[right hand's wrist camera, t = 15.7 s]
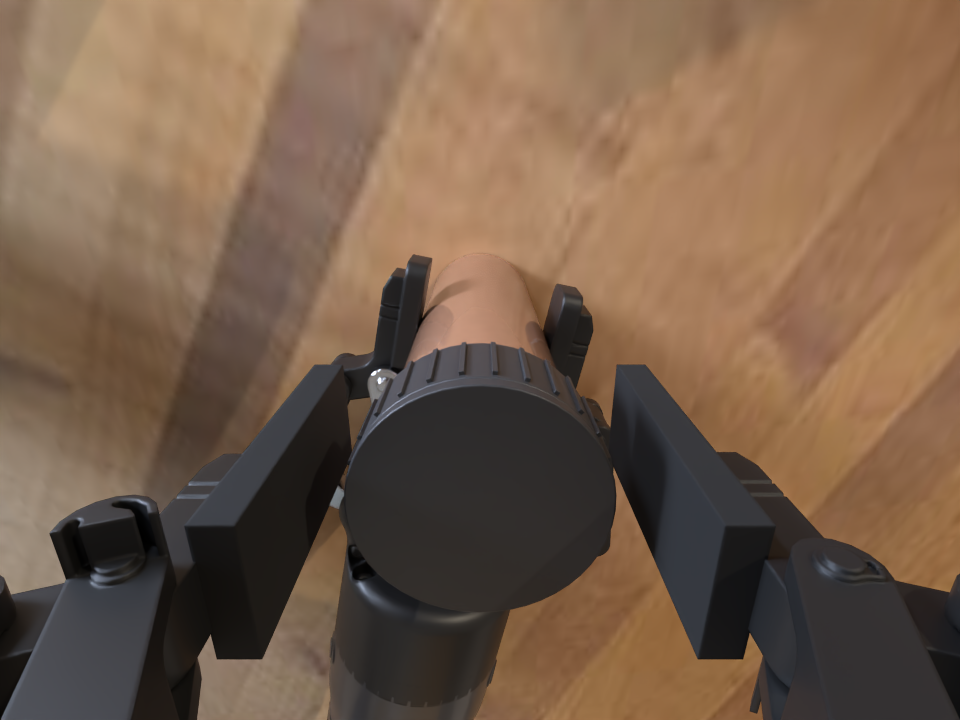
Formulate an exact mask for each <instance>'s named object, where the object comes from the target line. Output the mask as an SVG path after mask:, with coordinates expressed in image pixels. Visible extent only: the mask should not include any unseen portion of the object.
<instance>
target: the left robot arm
mask: <svg viewBox="0 0 960 720" xmlns="http://www.w3.org/2000/svg"><path fill="white" fill-rule="evenodd" d="M431 265H432V258H428V257H424V256H419V255H414V254H413V255H412V257H411V258H410V260H409V261H408V264H407V268H406V269H401V268H397V269H396V270H395V271H394V272H393V274H392V275H391V276H390V278H389V280H388V281H387V283H386V285H385V286H384V288H383V292H382V299H381V306H380V313H379V320H378V327H377V334H376V341H375V348H374V351H373V352H371V353H369V354H365V355H358V356H355V355H353V354H350V353H343V354H340V355H339V356H337V357H336V358H335V360H334V361H333V362H332V364H331V365H343V369H344V379H345V389H346V398H347V406H348V404H349V401H350V400H354V399H361V398H368V397H370V399H371V403H373V401H374V399H377V400H378V399H379V397H380V395H381V394H382V392H383V391H384V388H385V386H386V383H387V381H388V380H389V378H392V379H394V378H395V377H396V375H397V374H399V373H400V372H401V371H402V370H404V367H405V364H406V362H407V359H408V356H409V353H410V351H411V348H412V345H413V342H414V340H415V337H416V334H417V332H418V329H419V326H420V323H421V321H422V317H423V311H424V306H425V300H426V294H427V288H428V283H429V277H430V271H431ZM592 333H593V322H592V316H591V314H590V313H589V311H588V310H587V309H586V307H585V306H584V305H583V297H582V295H581V294H580V292H579V291H578V290H577V288H575V287H571V286H566V285H561V284H557V285H556V286H555V289H554V291H553V295H552V299H551V303H550V306H549V310H548V314H547V318H546V321H545V325H544V329H543V334H544V337H545V340H546V342H547V345H548V348H549V351H550V353H551V356H552V359H553V361H554V364H555V367H556V369H557V370H558V371H559V372H560V373H561V374H562V375H564V376H565V377H566V376H569V377H570V378H571V381H572V383H573V386H574V388H575V389H576V387H577V383H578V380H579V377H580V373H581V370H582V367H583V363H584V360H585V356H586V353H587V350H588V345H589V343H590V340H591V337H592ZM586 401H587V403H588V405H589V407H590V410H591V412H592V414H593V416H594V419H595V421H596V423H597V425H598V428H599V430H600V432H601V434H602V438H603V440H604V443H605V445H606V447H607V449H608V448H609V438H610V427H609V425H607V423H606V421H605V419H604V417H603V412H602V410H601V408H600V406H599V404H598V403H597V402H596V401H594V400H592V399H586ZM610 465H611V468H612V472H613V467H614V466H613V464H612V462H610ZM345 481H346V476H345V474H344V473H343V476H342V478H341V480H340V482H339V485H338V487H337V489H336V492H335V494H334V496H333V498H332V501H331V503H330V505H329V506H331V507H334V508H336V509H339V517H340V520H341V522H342V524H343V526H344V528H345V531H346V534H347V549H346V556H345V563H344V570H343V577H342V584H341V591H340V597H339V604H338V612H337V618H336V625H335V631H334V632H333V635H332V637H331V642H330V658H331V660H330V674H329V684H330V703H329V710H328V717H327V720H474V718H475V716H476V714H477V712H478V710H479V708H480V706H481V703H482V700H483V698H484V695H485V692H486V689H487V687H488V685H489V684H490V683H491V680H492V677H493V674H494V670H495V666H496V661H497V660H496V656H497V652H498V649H499V646H500V642H501V639H502V636H503V632H504V629H505V626H506V622H507V619H508V616H509V612H510V610H504V611H497V612H463V611H456V610H450V609H445V608H441V607H437V606H434V605H430V604H428V603H425V602H422V601H420V600H417V599H415V598H413V597H411V596H409V595H407V594H405V593H403V592H401V591H400V590H398V589H397V588H395V587H394V586H392V585H391V584H389V583H388V582H387V581H386V580H385V579H383V578H382V577H381V576H380V575H379V574H378V573H377V572H376V571H375V570H374V569H373V568H372V567H371V566H370V565H369V564H368V562H367V561H366V560H365V558H364V557H363V555H362V554H361V553H360V551H359V550H358V548H357V546H356V544H355V542H354V540H353V538H352V536H351V533H350V530H349V527H348V524H347V520H346V514H345V508H344V488H345ZM610 534H611V530H610V533H609V536H608V538H607V541H606V542H605V544H604V546H603V548H602V550H601V552H600V553H599V555H598V556H601V555H603V554H604V553H606V552H607V551H608V549H609V547H610Z"/></svg>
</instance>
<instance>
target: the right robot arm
mask: <svg viewBox="0 0 960 720" xmlns="http://www.w3.org/2000/svg"><path fill="white" fill-rule="evenodd" d="M608 452H609V454H610V456H611V459H612V464H613V466H614V469H615V471H616V473H617V476H618V478H619V480H620V482H621V485H622V487H623V489H624V492H625V494H626V496H627V498H628V501H629V503H630V505H631V508H632V510H633V512H634V514H635V517H636V519H637V521H638V524H639V526H640V528H641V530H642V533H643V535H644V537H645V540H646V542H647V544H648V546H649V549H650V551H651V553H652V556H653V558H654V560H655V562H656V565H657V567H658V569H659V572H660V574H661V576H662V578H663V581H664V583H665V585H666V588H667V590H668V592H669V594H670V597H671V599H672V601H673V604H674V606H675V608H676V610H677V613H678V615H679V617H680V620H681V622H682V624H683V626H684V629H685V631H686V633H687V636H688V638H689V640H690V642H691V645H692V647H693V649H694V652H695V654H696V656H697V658H698V659H743V658H744V654H745V650H746V645H747V641H748V637H749V633H750V634H751V635H752V637H753V639H754V640H755V642H756V644H757V646H758V647H759V649H760V651H761V653H762V654H763V658H762V662H761V666H760V669H759V673H758V677H757V681H756V684H755V688H754V692H753V696H752V699H751V706H750V711H751V712H754V713H758V709H759V705H760V702H761V704H762V713H763V720H960V574H959V575H957V577H956V579H955V582H954V584H953V586H952V589H951V591H950V592H945V591H940V590H936V589H931V588H926V587H922V586H917V585H912V584H908V583H903V582H899V581H895V580H894V578H893V577H892V576H891V574H890V573H889V572H888V570H887V569H886V568H885V566H884V565H882V564H881V563H880V562H878V561H877V560H876V559H874V558H873V557H872V556H871V555H869V554H867V553H865V552H863V551H861V550H859V549H857V548H855V547H854V546H852V545H849V544H846V543H842V542H839V541H836V540H833V539H826V538H824V537H823V536H822V535H821V534H820V533H819V532H818V531H817V530H816V529H815V528H814V526H813V525H812V524H811V523H810V522H809V521H808V520H807V519H806V518H805V517H804V516H803V514H802V513H801V512H800V511H799V510H798V509H797V508H796V507H795V506H794V505H793V503H792V502H791V501H790V500H789V499H788V498H787V497H784V496H783V493H782V491H781V490H780V489H779V488H778V487H777V486H776V485H775V484H772V481H771V479H770V478H769V477H768V476H767V475H766V474H765V473H764V472H763V471H762V470H761V468H760V467H759V466H758V465H756V464H755V463H753V462H751V461H750V460H748V459H746V458H745V457H743V456H741V455H740V454H738V453H737V452H716V451H715V450H714V449H713V447H712V446H711V445H710V444H709V443H708V441H707V440H706V439H705V438H704V436H703V435H702V434H701V433H700V431H699V430H698V429H697V428H696V427H695V425H694V424H693V423H692V422H691V420H690V419H689V418H688V417H687V415H686V414H685V413H684V412H683V411H682V409H681V408H680V407H679V406H678V404H677V403H676V402H675V401H674V399H673V398H672V397H671V396H670V395H669V393H668V392H667V391H666V390H665V388H664V387H663V386H662V385H661V383H660V382H659V381H658V380H657V379H656V377H655V376H654V375H653V374H652V372H651V371H650V370H649V369H648V367H647V366H646V365H617V369H616V379H615V389H614V398H613V408H612V418H611V428H610V438H609V448H608ZM351 453H352V448H351V438H350V428H349V418H348V408H347V398H346V389H345V379H344V369H343V365H314V366H313V367H312V369H311V370H310V371H309V372H308V374H307V375H306V376H305V377H304V379H303V380H302V381H301V382H300V383H299V385H298V386H297V387H296V388H295V390H294V391H293V392H292V393H291V395H290V396H289V397H288V398H287V399H286V401H285V402H284V403H283V404H282V406H281V407H280V408H279V409H278V411H277V412H276V413H275V414H274V415H273V417H272V418H271V419H270V420H269V422H268V423H267V424H266V425H265V427H264V428H263V429H262V430H261V431H260V433H259V434H258V435H257V436H256V438H255V439H254V440H253V441H252V443H251V444H250V445H249V446H248V447H247V449H246V450H245V451H244V452H243V454H223V455H222V456H220V457H218V458H217V459H215V460H213V461H212V462H210V463H209V464H207V465H205V466H204V467H202V468H201V470H200V471H199V472H198V473H197V474H196V475H195V476H194V477H193V478H192V479H191V481H190V482H189V485H188V486H185V487H184V488H183V489H182V490H181V492H180V493H179V494H178V495H177V499H173V500H172V502H171V503H170V504H169V505H168V506H167V507H166V508H165V509H164V510H163V511H162V513H161V514H160V515H159V511H158V507H157V504H156V502H155V501H153V500H152V499H150V498H149V497H145V496H139V495H127V496H117V497H113V498H109V499H105V500H102V501H98V502H95V503H93V504H90V505H88V506H86V507H84V508H81V509H79V510H77V511H75V512H74V513H72V514H71V515H69V516H68V517H66V518H65V519H63V520H62V521H60V522H59V523H58V524H57V525H56V527H55V528H54V529H53V530H52V531H51V532H50V536H51V539H52V542H53V544H54V547H55V550H56V553H57V555H58V558H59V561H60V564H61V567H62V569H63V572H64V575H65V578H66V581H65V583H62V584H58V585H54V586H49V587H45V588H40V589H35V590H31V591H26V592H22V593H17V594H12V595H11V594H10V591H9V589H8V586H7V584H6V582H5V579H4V578H3V577H2V576H0V720H197V714H198V706H199V697H200V688H201V680H202V678H201V671H200V666H199V662H198V658H197V657H198V656H199V654H200V652H201V650H202V648H203V647H204V645H205V643H206V641H207V640H208V638H209V636H210V634H211V637H212V641H213V645H214V650H215V654H216V658H217V659H262V658H263V656H264V654H265V652H266V649H267V647H268V645H269V642H270V640H271V638H272V636H273V633H274V631H275V629H276V626H277V624H278V622H279V620H280V617H281V615H282V613H283V610H284V608H285V606H286V604H287V601H288V599H289V597H290V594H291V592H292V590H293V588H294V585H295V583H296V581H297V578H298V576H299V574H300V572H301V569H302V567H303V565H304V562H305V560H306V558H307V556H308V553H309V551H310V549H311V546H312V544H313V542H314V540H315V537H316V535H317V533H318V530H319V528H320V526H321V524H322V521H323V519H324V517H325V514H326V512H327V510H328V508H329V505H330V503H331V501H332V498H333V496H334V494H335V492H336V489H337V487H338V485H339V482H340V480H341V478H342V476H343V473H344V471H345V469H346V466H347V464H348V460H349V458H350V456H351Z"/></svg>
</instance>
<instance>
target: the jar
mask: <svg viewBox="0 0 960 720" xmlns="http://www.w3.org/2000/svg"><path fill="white" fill-rule="evenodd" d="M462 342H466V344H473V343H488V344H491V342H496V344H499V345H504V346H509V347H514V348H517V349H519V347H521V348H524V351H525V352H528V353H530V354H532V355H534V356H536V357H539V358H541V359H542V360H545V359H547V360H549V361H550V364H551V366H553V367H554V368H556V367H555V364H554V361H553V359H552V356H551V353H550V351H549V348H548V345H547V342H546V340H545V337H544V334H543V331H542V329H541V326H540V323H539V321H538V318H537V315H536V312H535V310H534V307H533V304H532V302H531V299H530V296H529V293H528V291H527V288H526V285H525V283H524V280H523V279H522V277H521V275H520V274H519V272H518V271H517V270H516V269H515V268H514V267H513V266H512V265H511V264H510V263H508V262H507V261H505V260H504V259H502V258H499V257H497V256H494V255H490V254H479V253H477V254H470V255H466V256H463V257H461V258H458V259H457V260H455V261H453V262H452V263H450V264H449V265H448V266H447V267H446V268H445V269H444V270H443V271H442V272H441V274H440V275H439V277H438V279H437V280H436V283H435V285H434V288H433V291H432V294H431V296H430V299H429V302H428V304H427V307H426V310H425V313H424V315H423V318H422V321H421V323H420V326H419V329H418V332H417V334H416V337H415V340H414V342H413V345H412V348H411V351H410V353H409V356H408V359H407V362H406V364H405V367H404V369H405V368H406V367H407V365H408V362H410V361H413V362H415V361H416V360H418V359H420V358H421V357H423V356H426V355H428V354H430V353H432V352H433V350H434V349H436V348H438V350H441V349H444V348H447V347H450V346H456V345H461V343H462Z"/></svg>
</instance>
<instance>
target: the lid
mask: <svg viewBox="0 0 960 720" xmlns="http://www.w3.org/2000/svg"><path fill="white" fill-rule="evenodd" d="M357 439H358V440H357V442H356V444H355V446H354V449H353V451H352V453H351V456H350V458H349V460H348V465H350V466H349V469H348V472H347V476H346V481H345V488H344V508H345V514H346V520H347V524H348V527H349V530H350V533H351V536H352V538H353V540H354V542H355V544H356V546H357V548H358V550H359V551H360V553H361V554H362V555H363V557H364V558H365V560H366V561H367V562H368V564H369V565H370V566H371V567H372V568H373V569H374V570H375V571H376V572H377V573H378V574H379V575H380V576H381V577H382V578H383V579H385V580H386V581H387V582H388V583H389V584H391V585H392V586H394V587H395V588H397V589H398V590H400V591H401V592H403V593H405V594H407V595H409V596H411V597H413V598H415V599H417V600H420V601H422V602H425V603H428V604H430V605H434V606H437V607H441V608H445V609H450V610H456V611H463V612H497V611H504V610H511V609H515V608H519V607H523V606H527V605H530V604H532V603H535V602H538V601H541V600H543V599H545V598H547V597H549V596H551V595H553V594H555V593H557V592H558V591H560V590H562V589H563V588H565V587H566V586H568V585H569V584H571V583H572V582H573V581H574V580H576V579H577V578H578V577H579V576H580V575H581V574H582V573H583V572H584V571H585V570H586V569H587V568H588V567H589V566H590V565H591V564H592V563H593V561H594V560H595V559H596V557H597V556H598V555H599V553H600V552H601V550H602V548H603V546H604V544H605V542H606V541H607V538H608V536H609V533H610V530H611V528H612V525H613V520H614V515H615V511H616V487H615V479H614V476H613V472H612V468H611V465H610V462H612V459H611V456H610V454H609V452H608V449H607V447H606V445H605V443H604V440H603V438H602V434H601V432H600V430H599V428H598V425H597V423H596V421H595V419H594V416H593V414H592V412H591V410H590V407H589V405H588V403H587V401H586V399H585V397H584V396H583V397H580V395H579V394H578V392H577V391H576V389H575V388H574V386H573V383H572V381H571V378H570V377H569V376H566V377H565V376H564V375H562V374H561V373H560V372H559V371H558V370H557V369H556V368H554V367H553V366H551V364H550V361H549V360H547V359H545V360H542V359H541V358H539V357H536V356H534V355H532V354H530V353H528V352H525V351H524V348H521V347H519V349H517V348H514V347H509V346H504V345H499V344H496V342H491V344H488V343H473V344H466V342H462V343H461V345H456V346H450V347H447V348H444V349H441V350H438V348H436V349H434V350H433V352H432V353H430V354H428V355H426V356H423V357H421V358H420V359H418V360H416V361H415V362H413V361H410V362H408V365H407V367H406V368H405V369H404V370H402V371H401V372H400V373H399V374H397V375H396V377H395V378H394V379H392V378H389V380H388V381H387V383H386V386H385V388H384V391H383V392H382V394H381V395H380V397H379V399H378V400H377V399H374V401H373V403H372V405H371V407H370V410H369V412H368V414H367V416H366V418H365V421H364V423H363V425H362V427H361V430H360V432H359V434H358V436H357Z"/></svg>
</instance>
